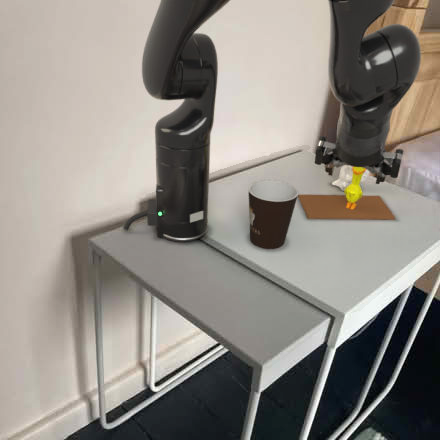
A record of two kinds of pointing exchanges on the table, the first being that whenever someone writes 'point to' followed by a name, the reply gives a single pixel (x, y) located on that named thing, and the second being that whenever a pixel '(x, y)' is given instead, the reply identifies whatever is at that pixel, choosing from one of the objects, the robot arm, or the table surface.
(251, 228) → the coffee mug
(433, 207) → the table surface
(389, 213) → the placemat
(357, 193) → the toy figure
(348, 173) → the white animal statuette
